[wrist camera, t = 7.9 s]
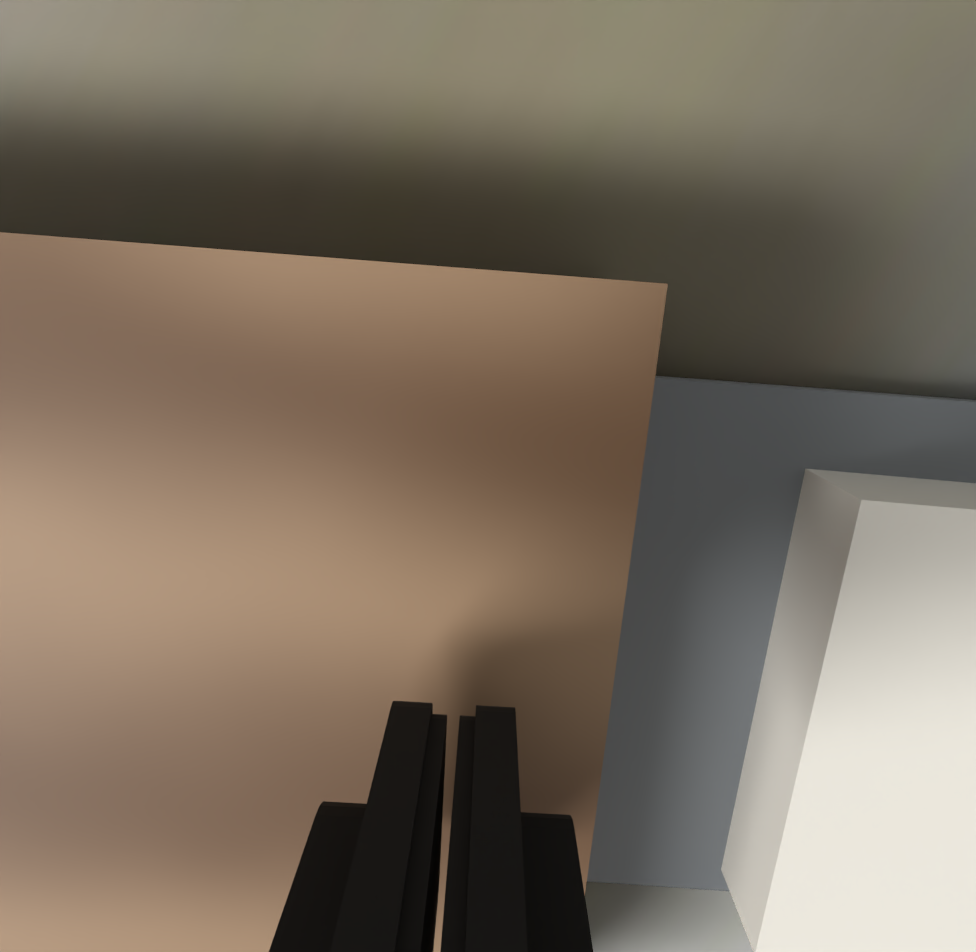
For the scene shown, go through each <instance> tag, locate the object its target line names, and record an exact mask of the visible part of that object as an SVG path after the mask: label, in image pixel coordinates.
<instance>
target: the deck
mask: <svg viewBox="0 0 976 952" xmlns="http://www.w3.org/2000/svg"><path fill="white" fill-rule="evenodd" d="M667 287H668V284H665V283H652V282H639V281H626V280H613V279H600V278H587V277H574V276H561V275H548V274H535V273H522V272H509V271H496V270H483V269H470V268H457V267H444V266H431V265H418V264H405V263H393V262H380V261H367V260H354V259H341V258H328V257H315V256H302V255H289V254H276V253H263V252H250V251H237V250H224V249H211V248H198V247H185V246H172V245H159V244H146V243H134V242H121V241H108V240H95V239H82V238H69V237H56V236H43V235H30V234H17V233H4V232H0V952H269V950H270V947H271V944H272V941H273V938H274V935H275V932H276V929H277V926H278V923H279V920H280V917H281V915H282V912H283V909H284V906H285V903H286V900H287V897H288V894H289V891H290V888H291V885H292V882H293V880H294V877H295V874H296V871H297V868H298V865H299V862H300V859H301V856H302V853H303V850H304V847H305V845H306V842H307V839H308V836H309V833H310V830H311V827H312V824H313V821H314V818H315V815H316V813H317V811H318V808H319V806H320V804H321V803H322V802H323V801H327V802H345V803H363V804H367V800H368V796H369V792H370V788H371V784H372V780H373V776H374V772H375V768H376V764H377V760H378V756H379V752H380V748H381V744H382V740H383V736H384V732H385V728H386V724H387V720H388V716H389V712H390V708H391V705H392V702H393V701H409V702H427V703H433V714H444V715H447V734H446V755H445V776H444V796H443V817H442V838H441V858H440V878H439V893H438V906H437V916H436V927H435V938H434V949H433V952H440V951H441V938H442V926H443V914H444V902H445V890H446V877H447V865H448V853H449V841H450V829H451V816H452V804H453V792H454V780H455V767H456V755H457V743H458V731H459V719H460V715H461V716H475V713H476V705H481V706H499V707H515V711H516V729H517V748H518V768H519V787H520V807H521V812H527V813H545V814H563V815H571V817H572V819H573V824H574V828H575V835H576V842H577V848H578V855H579V862H580V868H581V875H582V882H583V888H584V895H585V891H586V883H587V876H588V868H589V861H590V854H591V846H592V839H593V832H594V824H595V817H596V810H597V802H598V795H599V787H600V780H601V773H602V765H603V758H604V751H605V743H606V736H607V729H608V721H609V714H610V706H611V699H612V692H613V684H614V677H615V670H616V662H617V655H618V647H619V640H620V633H621V625H622V618H623V611H624V603H625V596H626V589H627V581H628V574H629V566H630V559H631V552H632V544H633V537H634V530H635V522H636V515H637V508H638V500H639V493H640V485H641V478H642V471H643V463H644V456H645V449H646V441H647V434H648V427H649V419H650V412H651V404H652V397H653V390H654V382H655V375H656V368H657V360H658V353H659V345H660V338H661V331H662V323H663V316H664V309H665V301H666V294H667Z"/></svg>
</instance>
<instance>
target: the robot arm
mask: <svg viewBox="0 0 976 952" xmlns="http://www.w3.org/2000/svg"><path fill="white" fill-rule="evenodd" d="M446 734H447V715H444V714H433V703H427V702H409V701H393V702H392V705H391V708H390V712H389V716H388V720H387V724H386V728H385V732H384V736H383V740H382V744H381V748H380V752H379V756H378V760H377V764H376V768H375V772H374V776H373V780H372V784H371V788H370V792H369V796H368V800H367V804H363V803H345V802H327V801H323V802H322V803H321V804H320V806H319V808H318V811H317V813H316V815H315V818H314V821H313V824H312V827H311V830H310V833H309V836H308V839H307V842H306V845H305V847H304V850H303V853H302V856H301V859H300V862H299V865H298V868H297V871H296V874H295V877H294V880H293V882H292V885H291V888H290V891H289V894H288V897H287V900H286V903H285V906H284V909H283V912H282V915H281V917H280V920H279V923H278V926H277V929H276V932H275V935H274V938H273V941H272V944H271V947H270V950H269V952H433V949H434V938H435V927H436V916H437V906H438V893H439V878H440V858H441V838H442V817H443V796H444V776H445V755H446ZM440 952H593V948H592V942H591V935H590V928H589V922H588V915H587V908H586V902H585V895H584V888H583V882H582V875H581V868H580V862H579V855H578V848H577V842H576V835H575V828H574V824H573V819H572V817H571V815H563V814H545V813H527V812H521V807H520V787H519V768H518V748H517V729H516V711H515V707H499V706H481V705H476V713H475V716H461V715H460V719H459V731H458V743H457V755H456V767H455V780H454V792H453V804H452V816H451V829H450V841H449V853H448V865H447V877H446V890H445V902H444V914H443V926H442V938H441V951H440Z"/></svg>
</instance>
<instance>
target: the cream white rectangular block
mask: <svg viewBox="0 0 976 952" xmlns="http://www.w3.org/2000/svg"><path fill="white" fill-rule="evenodd" d="M721 871H722V873H723V876H724V878H725V881H726V883H727V886H728V888H729V891H730V893H731V896H732V898H733V901H734V904H735V906H736V909H737V911H738V914H739V916H740V919H741V921H742V924H743V926H744V929H745V931H746V934H747V937H748V939H749V942H750V944H751V947H752V949H753V952H976V483H966V482H955V481H943V480H932V479H920V478H909V477H897V476H886V475H874V474H862V473H851V472H839V471H828V470H816V469H805V473H804V478H803V483H802V487H801V492H800V497H799V502H798V506H797V511H796V516H795V521H794V525H793V530H792V535H791V540H790V544H789V549H788V554H787V559H786V563H785V568H784V573H783V578H782V582H781V587H780V592H779V597H778V601H777V606H776V611H775V616H774V620H773V625H772V630H771V635H770V639H769V644H768V649H767V654H766V658H765V663H764V668H763V673H762V677H761V682H760V687H759V692H758V696H757V701H756V706H755V711H754V715H753V720H752V725H751V730H750V734H749V739H748V744H747V749H746V753H745V758H744V763H743V768H742V772H741V777H740V782H739V787H738V791H737V796H736V801H735V806H734V810H733V815H732V820H731V825H730V829H729V834H728V839H727V844H726V848H725V853H724V858H723V863H722V867H721Z"/></svg>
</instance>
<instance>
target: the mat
mask: <svg viewBox="0 0 976 952" xmlns="http://www.w3.org/2000/svg"><path fill="white" fill-rule="evenodd" d="M805 469H816V470H828V471H839V472H851V473H862V474H874V475H886V476H897V477H909V478H920V479H932V480H943V481H955V482H966V483H976V400H969V399H956V398H943V397H929V396H916V395H903V394H890V393H877V392H864V391H850V390H837V389H824V388H811V387H798V386H784V385H771V384H758V383H745V382H732V381H719V380H705V379H692V378H679V377H666V376H655V382H654V390H653V397H652V404H651V412H650V419H649V427H648V434H647V441H646V449H645V456H644V463H643V471H642V478H641V485H640V493H639V500H638V508H637V515H636V522H635V530H634V537H633V544H632V552H631V559H630V566H629V574H628V581H627V589H626V596H625V603H624V611H623V618H622V625H621V633H620V640H619V647H618V655H617V662H616V670H615V677H614V684H613V692H612V699H611V706H610V714H609V721H608V729H607V736H606V743H605V751H604V758H603V765H602V773H601V780H600V787H599V795H598V802H597V810H596V817H595V824H594V832H593V839H592V846H591V854H590V861H589V868H588V876H587V881H588V882H603V883H617V884H632V885H646V886H661V887H675V888H690V889H705V890H719V891H729V888H728V886H727V883H726V881H725V878H724V876H723V873H722V871H721V867H722V863H723V858H724V853H725V848H726V844H727V839H728V834H729V829H730V825H731V820H732V815H733V810H734V806H735V801H736V796H737V791H738V787H739V782H740V777H741V772H742V768H743V763H744V758H745V753H746V749H747V744H748V739H749V734H750V730H751V725H752V720H753V715H754V711H755V706H756V701H757V696H758V692H759V687H760V682H761V677H762V673H763V668H764V663H765V658H766V654H767V649H768V644H769V639H770V635H771V630H772V625H773V620H774V616H775V611H776V606H777V601H778V597H779V592H780V587H781V582H782V578H783V573H784V568H785V563H786V559H787V554H788V549H789V544H790V540H791V535H792V530H793V525H794V521H795V516H796V511H797V506H798V502H799V497H800V492H801V487H802V483H803V478H804V473H805Z"/></svg>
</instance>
